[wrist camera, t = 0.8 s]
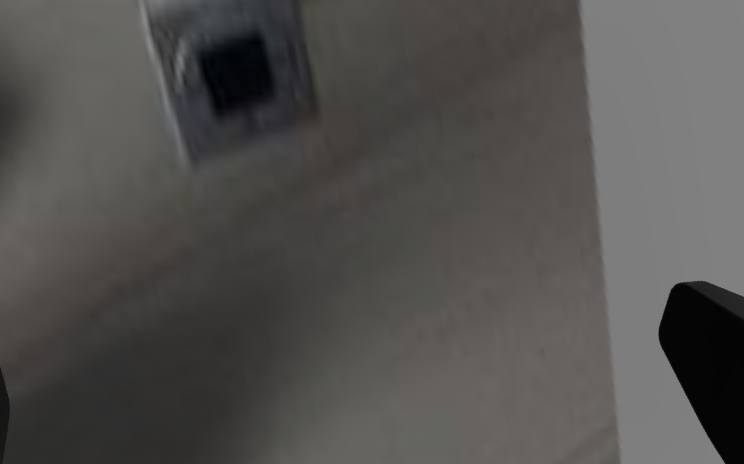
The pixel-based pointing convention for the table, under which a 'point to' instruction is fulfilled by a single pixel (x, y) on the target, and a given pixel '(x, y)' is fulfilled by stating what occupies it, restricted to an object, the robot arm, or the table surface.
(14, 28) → the table surface
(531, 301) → the table surface
